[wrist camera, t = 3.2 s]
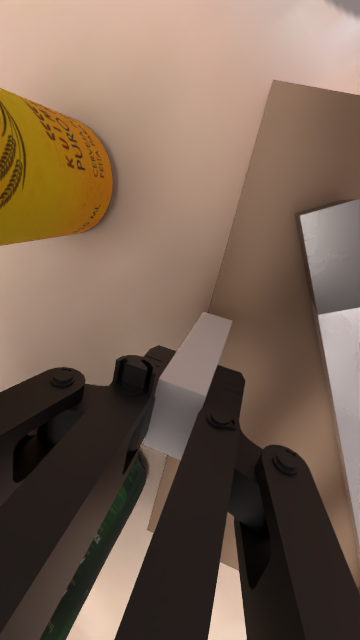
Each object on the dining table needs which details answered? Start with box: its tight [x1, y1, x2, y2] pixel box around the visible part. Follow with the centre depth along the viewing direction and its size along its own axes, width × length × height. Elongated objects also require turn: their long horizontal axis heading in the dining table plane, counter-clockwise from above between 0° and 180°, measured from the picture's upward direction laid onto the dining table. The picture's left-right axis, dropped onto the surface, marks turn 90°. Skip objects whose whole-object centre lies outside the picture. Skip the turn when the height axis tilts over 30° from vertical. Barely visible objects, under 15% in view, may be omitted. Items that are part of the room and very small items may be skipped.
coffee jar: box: [39, 456, 146, 640], centre depth 18 cm, size 10×8×19 cm
